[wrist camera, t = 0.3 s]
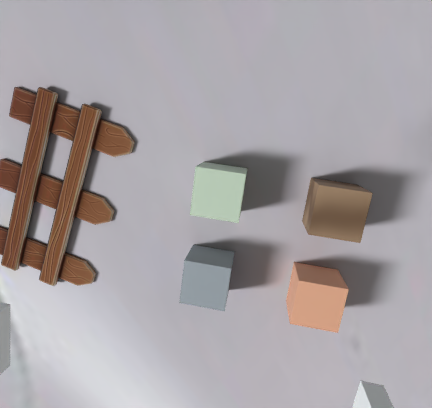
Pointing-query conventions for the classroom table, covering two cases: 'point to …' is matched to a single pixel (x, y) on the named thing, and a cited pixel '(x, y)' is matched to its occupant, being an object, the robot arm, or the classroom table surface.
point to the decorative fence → (55, 183)
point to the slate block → (206, 277)
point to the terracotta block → (316, 297)
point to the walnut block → (336, 210)
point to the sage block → (218, 191)
